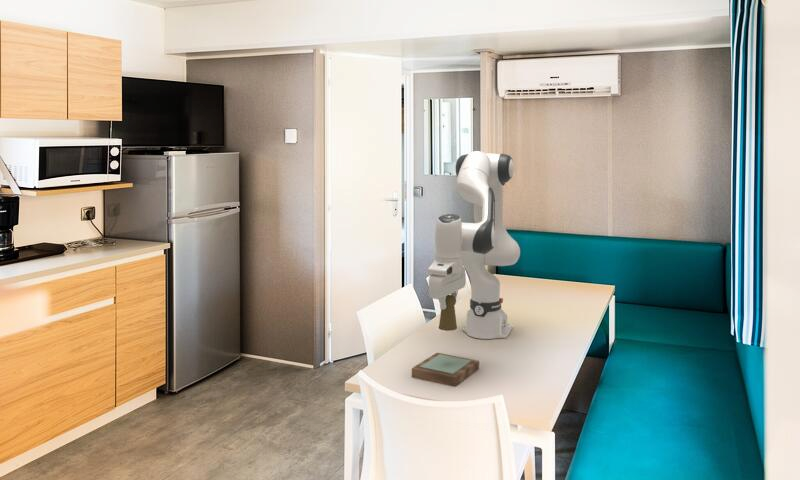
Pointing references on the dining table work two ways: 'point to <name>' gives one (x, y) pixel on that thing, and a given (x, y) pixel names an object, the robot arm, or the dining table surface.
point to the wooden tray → (445, 369)
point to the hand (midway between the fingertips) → (448, 306)
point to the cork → (448, 315)
